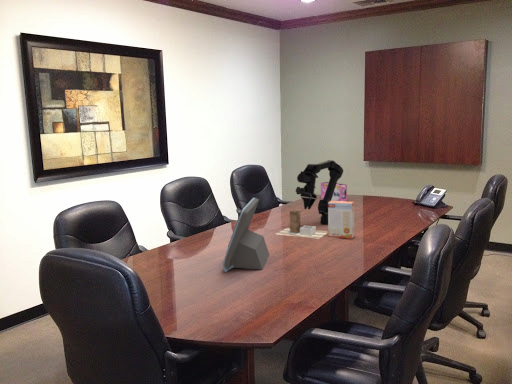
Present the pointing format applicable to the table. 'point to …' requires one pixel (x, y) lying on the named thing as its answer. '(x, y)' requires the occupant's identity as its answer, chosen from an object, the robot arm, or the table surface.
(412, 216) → the table surface
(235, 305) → the table surface
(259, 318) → the table surface
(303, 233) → the sleeve
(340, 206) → the cracker box
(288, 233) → the board
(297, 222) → the walnut block
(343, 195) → the gum box
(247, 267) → the touchscreen device
